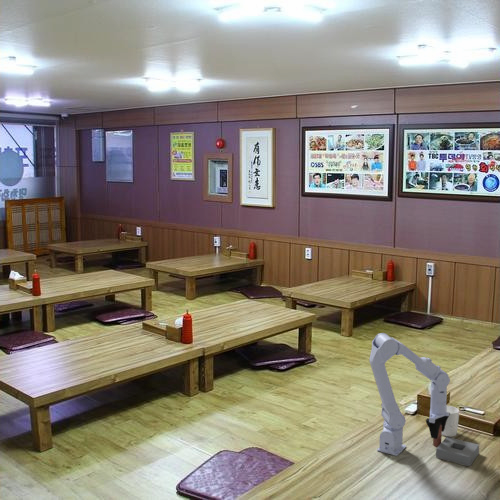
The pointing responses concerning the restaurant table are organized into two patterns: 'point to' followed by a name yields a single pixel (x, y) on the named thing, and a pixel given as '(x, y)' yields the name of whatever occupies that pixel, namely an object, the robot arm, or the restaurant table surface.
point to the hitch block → (457, 451)
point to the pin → (438, 438)
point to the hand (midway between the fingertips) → (437, 434)
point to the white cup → (451, 422)
